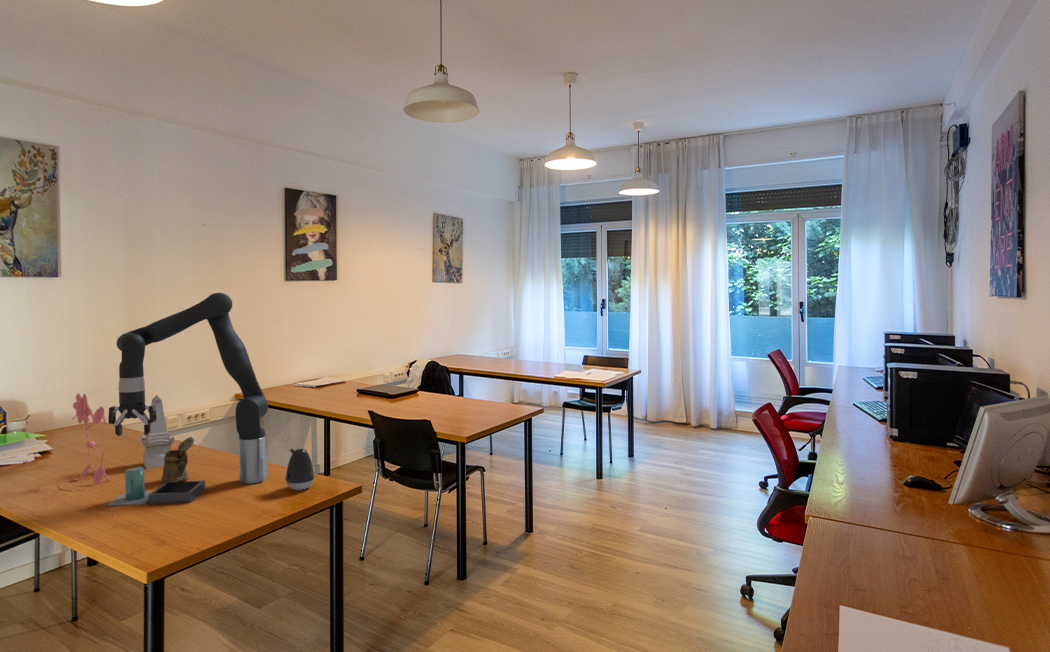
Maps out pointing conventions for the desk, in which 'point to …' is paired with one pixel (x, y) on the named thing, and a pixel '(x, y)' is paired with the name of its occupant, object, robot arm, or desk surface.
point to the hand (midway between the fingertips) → (133, 435)
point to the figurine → (83, 413)
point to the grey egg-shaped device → (299, 470)
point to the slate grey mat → (122, 500)
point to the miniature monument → (157, 439)
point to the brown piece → (177, 463)
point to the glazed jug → (134, 483)
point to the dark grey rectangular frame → (177, 492)
